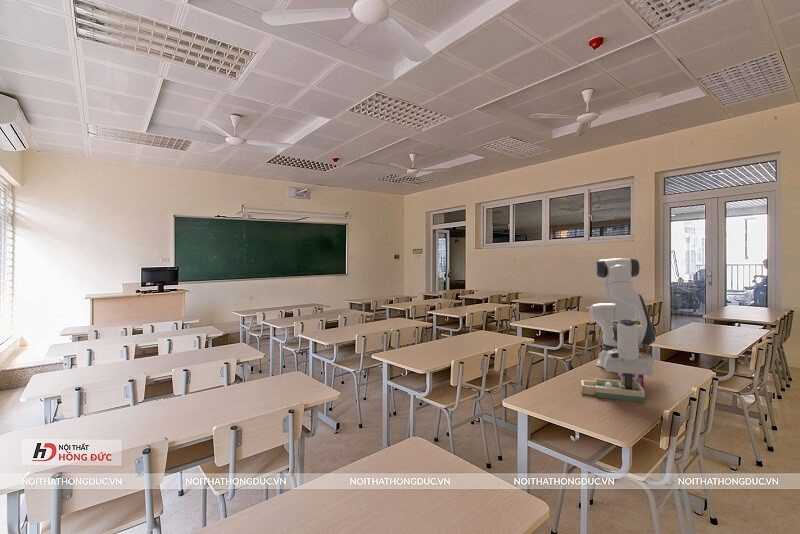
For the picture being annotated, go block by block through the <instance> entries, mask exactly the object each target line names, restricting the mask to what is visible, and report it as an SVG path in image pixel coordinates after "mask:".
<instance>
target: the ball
mask: <svg viewBox="0 0 800 534" xmlns="http://www.w3.org/2000/svg"><path fill="white" fill-rule="evenodd" d="M605 387H606V388H612V384H611V383H610V382H606V383H605Z"/></svg>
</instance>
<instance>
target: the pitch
mask: <svg viewBox="0 0 800 534" xmlns="http://www.w3.org/2000/svg"><path fill="white" fill-rule="evenodd" d="M606 382H610V383H611V384H612V388H606V387H605V383H606ZM618 382H619V383H621V384H622V386H625V382H621V381H619V379H618V380H616V379H608V378H607V379H606V378H597V377H596V378H595V377H594V378H593V380H586V379H585V380H584V379H581V380H580V387H581V393H582V394H583V395H593V396H595V397H597V398H603V399H610V400H611V399H613V400H620V401H630V402H639V403H646V392H645V389H644V387H641V385H640V383H639V382H636V383H632V390H626V389H619V388H618Z"/></svg>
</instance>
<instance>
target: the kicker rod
mask: <svg viewBox="0 0 800 534" xmlns="http://www.w3.org/2000/svg"><path fill="white" fill-rule="evenodd" d="M624 378H625V386H622V384H621V383H619V382H618V388H619V389H626V390H632V374H629V373H624Z"/></svg>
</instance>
